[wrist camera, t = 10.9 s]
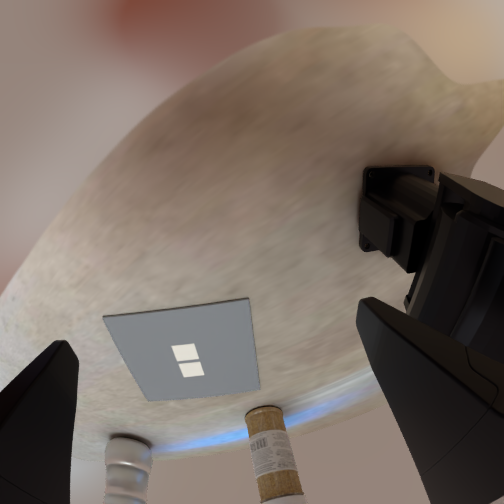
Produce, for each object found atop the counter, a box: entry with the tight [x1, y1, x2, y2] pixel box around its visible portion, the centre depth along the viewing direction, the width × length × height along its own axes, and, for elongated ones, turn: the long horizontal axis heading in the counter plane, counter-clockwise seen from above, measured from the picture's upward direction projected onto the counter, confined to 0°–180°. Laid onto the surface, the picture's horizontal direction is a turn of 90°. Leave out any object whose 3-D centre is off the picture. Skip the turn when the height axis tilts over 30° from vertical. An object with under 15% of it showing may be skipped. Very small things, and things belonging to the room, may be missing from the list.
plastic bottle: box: [103, 437, 153, 504], centre depth 23 cm, size 6×7×20 cm
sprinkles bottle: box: [245, 407, 308, 504], centre depth 25 cm, size 5×5×13 cm
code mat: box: [103, 298, 260, 401], centre depth 25 cm, size 12×12×1 cm
